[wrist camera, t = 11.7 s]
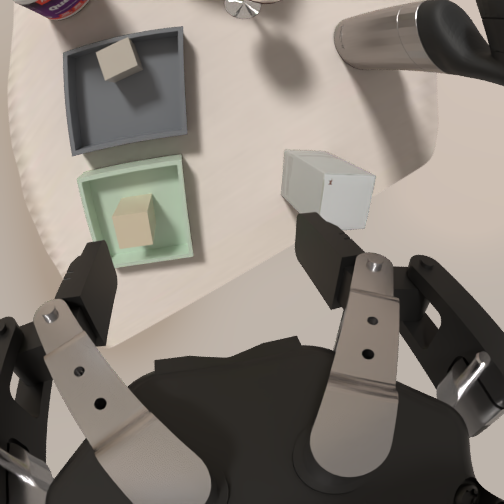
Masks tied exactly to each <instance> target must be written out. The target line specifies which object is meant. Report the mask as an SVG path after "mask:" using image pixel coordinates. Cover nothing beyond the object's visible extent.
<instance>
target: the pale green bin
mask: <svg viewBox="0 0 504 504" xmlns="http://www.w3.org/2000/svg"><path fill="white" fill-rule="evenodd" d="M77 183H78V187H79V192H80V196H81V200H82V204H83V208H84V212H85V216H86V219H87V223H88V226H89V230H90V233H91V237H92V240H93V242H95V241H101V240H105V241H106V243H107V246H108V249H109V252H110V255H111V259H112V262H113V265H114V268H119V267H126V266H132V265H139V264H146V263H153V262H160V261H167V260H174V259H180V258H187V257H194V256H193V247H192V240H191V233H190V225H189V218H188V210H187V202H186V193H185V184H184V175H183V165H182V155H181V154H179V155H171V156H164V157H158V158H152V159H146V160H140V161H134V162H129V163H123V164H118V165H113V166H108V167H104V168H99V169H95V170H90V171H86V172H84V173H83V174H82V175H81V176H79V177H78V178H77ZM151 193H152V198H153V205H154V211H155V217H156V228H155V235H154V242H153V245H146V246H139V247H131V248H124V249H120V248H119V244H118V240H117V236H116V232H115V228H114V224H113V219H112V216H113V214H114V212H115V210H116V208H117V206H118V204H119V202H120V200H121V198H125V197H131V196H138V195H144V194H151Z"/></svg>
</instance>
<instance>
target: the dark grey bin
mask: <svg viewBox="0 0 504 504" xmlns="http://www.w3.org/2000/svg"><path fill="white" fill-rule="evenodd" d="M127 37H128V38H129V39H130V40H131V41H132V42H133V43H134V44H135V47H136V50H137V52H138V55H139V58H140V61H141V64H142V67H143V70H142V71H139V72H137V73H135V74H133V75H130V76H128V77H126V78H124V79H122V80H120V81H118V82H116V83H114V82H109V81H105V79H104V76H103V73H102V70H101V67H100V64H99V61H98V58H97V55H96V52H98V51H100V50H102V49H104V48H106V47H108V46H110V45H112V44H114V43H116V42H118V41H120V40H123V39H125V38H127ZM63 74H64V93H65V106H66V116H67V124H68V132H69V139H70V146H71V152H72V156H76V155H79V154H83V153H87V152H91V151H95V150H100V149H104V148H109V147H113V146H118V145H123V144H128V143H133V142H139V141H145V140H151V139H157V138H164V137H171V136H178V135H186V134H187V120H186V104H185V84H184V56H183V26H181V27H171V28H163V29H156V30H150V31H144V32H138V33H133V34H128V35H123V36H119V37H115V38H111V39H107V40H103V41H99V42H95V43H92V44H89V45H85V46H82V47H79V48H76V49H73V50H70V51H67V52H64V53H63Z"/></svg>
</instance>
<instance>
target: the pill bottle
mask: <svg viewBox="0 0 504 504" xmlns="http://www.w3.org/2000/svg"><path fill="white" fill-rule="evenodd" d="M13 1H14V2H15V3H17V4H19V5H22V6H24V7H26V8H28V9H30V10H32V11H35V12H37V13H39V14H41V15H43V16H44V17H46V18H48V19H51V20H62V19H65V18H68V17H70V16H72V15H74V14H75V13H77V12H78V11H80V10H81V9H82V8H83V7H84V6H85V5H86V4H87V3H88V1H89V0H13Z"/></svg>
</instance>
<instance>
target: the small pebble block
mask: <svg viewBox="0 0 504 504" xmlns="http://www.w3.org/2000/svg"><path fill="white" fill-rule="evenodd" d="M96 55H97V58H98V61H99V64H100V67H101V70H102V73H103V76H104V79H105V81H109V82H114V83H116V82H118V81H120V80H122V79H124V78H126V77H128V76H130V75H133V74H135V73H137V72H139V71H142V70H143V67H142V64H141V61H140V58H139V55H138V52H137V50H136V47H135V44H134V43H133V42H132V41H131V40H130V39H129V38H128V37H127V38H125V39H123V40H120V41H118V42H116V43H114V44H112V45H110V46H108V47H106V48H104V49H102V50H100V51H98V52H96Z"/></svg>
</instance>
